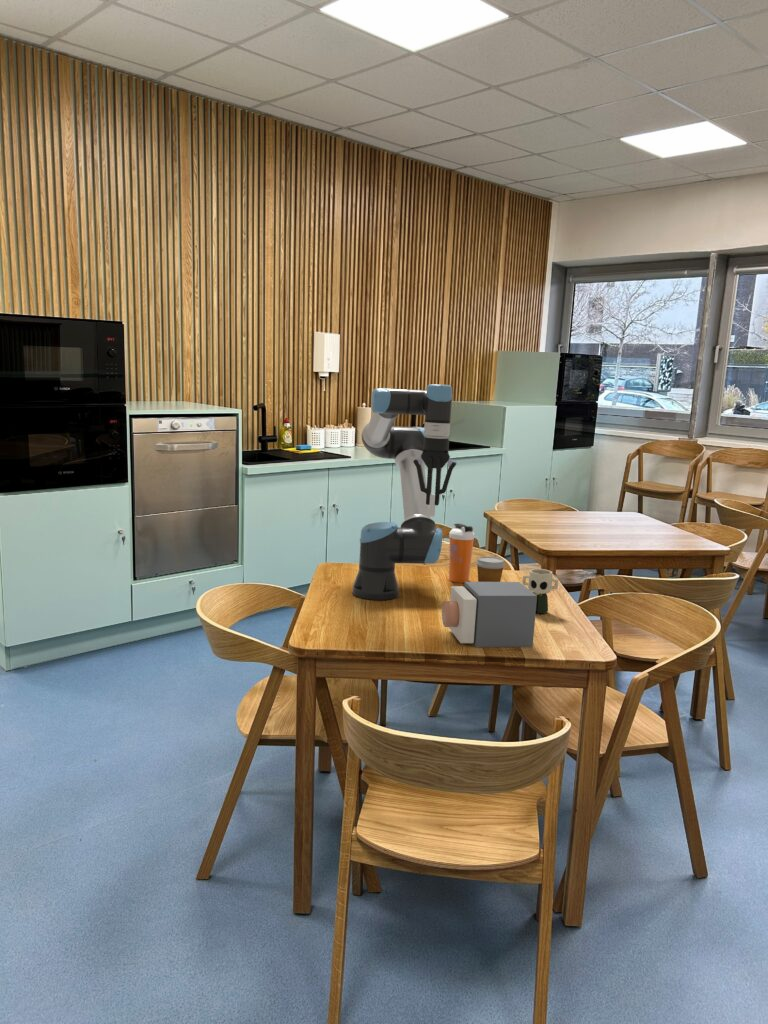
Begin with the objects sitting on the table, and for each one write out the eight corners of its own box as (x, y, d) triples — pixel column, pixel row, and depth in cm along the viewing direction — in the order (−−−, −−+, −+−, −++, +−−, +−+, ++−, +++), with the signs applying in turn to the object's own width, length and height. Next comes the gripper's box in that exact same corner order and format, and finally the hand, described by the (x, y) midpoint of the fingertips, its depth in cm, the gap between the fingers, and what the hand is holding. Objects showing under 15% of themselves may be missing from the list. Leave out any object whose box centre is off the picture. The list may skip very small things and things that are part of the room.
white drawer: (449, 643, 199) (452, 599, 197) (438, 627, 212) (440, 586, 210) (525, 642, 203) (529, 599, 201) (509, 627, 215) (512, 586, 213)
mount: (475, 647, 200) (479, 595, 198) (461, 630, 214) (464, 581, 211) (532, 646, 203) (537, 595, 200) (514, 629, 216) (518, 581, 214)
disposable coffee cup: (501, 591, 257) (504, 557, 255) (503, 599, 248) (506, 563, 246) (473, 589, 258) (476, 555, 256) (474, 597, 248) (476, 561, 246)
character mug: (518, 612, 234) (521, 571, 232) (522, 606, 241) (525, 566, 238) (553, 617, 230) (557, 576, 228) (556, 611, 237) (560, 571, 235)
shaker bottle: (457, 575, 275) (460, 522, 272) (476, 581, 269) (480, 526, 266) (441, 579, 269) (444, 524, 266) (460, 584, 263) (464, 528, 259)
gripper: (413, 436, 220) (408, 516, 224) (457, 439, 218) (452, 519, 222) (416, 435, 227) (411, 512, 231) (459, 437, 225) (454, 515, 229)
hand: (431, 515), depth 226 cm, fingers closed
